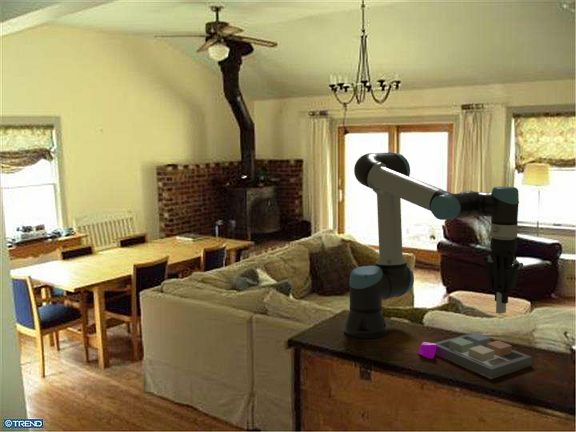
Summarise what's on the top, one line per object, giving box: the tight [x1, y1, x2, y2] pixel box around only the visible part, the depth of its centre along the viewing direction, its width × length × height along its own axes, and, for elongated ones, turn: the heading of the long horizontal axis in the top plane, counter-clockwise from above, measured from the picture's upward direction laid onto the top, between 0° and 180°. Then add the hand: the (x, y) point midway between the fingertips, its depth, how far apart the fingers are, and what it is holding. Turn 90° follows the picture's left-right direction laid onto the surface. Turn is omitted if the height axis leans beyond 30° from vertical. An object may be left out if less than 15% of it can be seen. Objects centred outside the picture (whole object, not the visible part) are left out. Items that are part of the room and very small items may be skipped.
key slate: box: [467, 332, 492, 347], centre depth 177 cm, size 5×5×2 cm
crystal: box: [417, 341, 437, 360], centre depth 174 cm, size 5×5×5 cm
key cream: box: [469, 345, 494, 362], centre depth 166 cm, size 5×5×2 cm
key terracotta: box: [487, 340, 513, 357], centre depth 170 cm, size 5×5×2 cm
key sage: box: [449, 338, 474, 353], centre depth 173 cm, size 5×5×2 cm
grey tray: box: [432, 333, 533, 380], centre depth 172 cm, size 24×18×3 cm
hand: (500, 312), depth 168 cm, fingers closed
